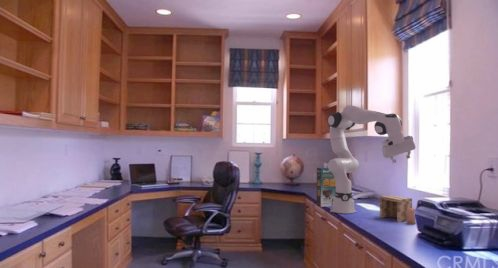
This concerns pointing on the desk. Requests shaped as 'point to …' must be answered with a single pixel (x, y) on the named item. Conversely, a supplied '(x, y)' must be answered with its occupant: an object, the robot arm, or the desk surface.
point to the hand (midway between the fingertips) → (401, 160)
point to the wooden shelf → (395, 207)
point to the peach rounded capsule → (411, 216)
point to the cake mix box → (325, 187)
